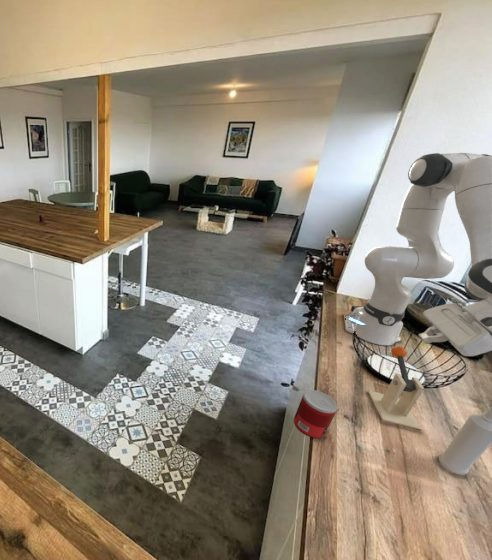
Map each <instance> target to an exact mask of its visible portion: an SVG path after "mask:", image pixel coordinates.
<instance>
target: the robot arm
mask: <svg viewBox="0 0 492 560" xmlns="http://www.w3.org/2000/svg"><path fill="white" fill-rule="evenodd" d="M407 178H408V181H409V182H410V187H409V188H408V190H407V192H406V194H405V196H404V199H403V202H402V204H401V207H400V211H399V215H398V219H397V223H396V226H395V229H396V232H397V234H399V235H400V236H402V237H403V238H405V239H406V240H407V242H408V247H405V246H404V247H402V246H391V245H389V246H378V247H377V246H376V247H373V248H371V249H370V250H368V252H367V253H366V255H365V257H364V266H365V268H366V269H367V270H368V271H369V272H370V273H371V275H372V276H373V279H374V288H373V291H372V293H371V296H370V298H367V300H366V302H365V304H364V305H363V306H362V305H352V306H351V308H350V312H349V313H348V314H349V316H346V317H345V314H344V315H343V320H344V328H345V331H346V332H348V333H349V334H353V333H354V331H356V332H357V336H356V337H357V338H360V339H362V340H363V341H365V342H368V343H371V344H375V345H379V346H393V345H394V344H395V343H398V342H401V341H402V338H401V336H400V334H401V331H402V328H403V326H404V323H403V321H402V320H403V318H405V314H406V310H407V309H406V308H407V307H408V305H409V303H410V301H411V299H412V296H413V295H412V291H411V290H410V288H409V287H407V286H406V285H405V284H403V283H402V282H403V279H404V278H413V279H420V280H421V279H422V280H430V279H431V280H432V279H433V280H434V279H442V278H443V279H444V278H445V277H447V276H448V275H450V274H451V273H452V271H453V269H454V266H455V261H454V258H453V257H452V255H451V254H449V253H448V252H447V251H446V250H445V249H444V247H443V245H442V243H441V240H440V235H439V234H440V226H441V221H442V218H443V214H444V210H445V207H446V202H447V200H448V197H449V196H450V195H451V194H452V193H453V192H454V201H455V206H456V210H457V213H458V216H459V218H460V220H461V223H462V225H463V228H464V231H465V232H466V235H467V238H468V242H469V247H470V248H469V250H470V260H471V261H470V263H471V267H470V268H469V270H468V273H467V276H466V280H465V282H464V285H463V286H464V292H465V293H466V295H468V297H470V298H471V299H473V300H474V301H476V302H473V303H471V304H468V305H465V304H464V303H458V302H457V303H455V302H452V303H445V304H441V305H437V306H433V307H430V308H428V309H425V310H424V311H423V312H422V315H423V317H424V318H425V319H426V321H427V322H428V323H429V324H430V325H431V326H430V327H428V328H427V329H425V331H424V332H421V333H418V337H419V339H421V341H423V343H424V344H425V345H427V344H431V343H444V342H447V341H448V343H450V344H451V346H453V347H454V348H455V350H457V352H459V353H460V354H461V355H462V356H463V357H475V356H478V355H482V354H486V353H489V352H492V155H491V154H486V153H481V154H479V153H472V152H471V153H469V152H458V153H457V152H452V153H450V152H449V153H438V152H435V153H428V154H424V155H421V156H420V157H418V158H416V160H414V161H413V163H412V164H411V165H410V167H409V169H408V172H407ZM345 318H346V320H345ZM353 335H354V334H353Z"/></svg>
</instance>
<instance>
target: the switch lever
mask: <svg viewBox="0 0 492 560" xmlns="http://www.w3.org/2000/svg"><path fill="white" fill-rule="evenodd" d="M390 353H391V355H392V356H393V357H394V358H396V359H397V362H398V367H399V372H400V375H401V377H402V378H403V380H404V381H405V383H406V384H407V385H406V386H405V388H404V390H403V391H402V392H404V391H407V392H412V391H413V390H415V386H414V383H413V380H411V379H409V374H408V371H407V367H406V362H405V357H406V356H407V355H408V352H407V350H406V349H405V347H403V346H393V347H392V348H391V349H390Z"/></svg>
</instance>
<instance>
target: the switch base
mask: <svg viewBox="0 0 492 560" xmlns="http://www.w3.org/2000/svg"><path fill="white" fill-rule="evenodd" d="M410 380H413V383H414V386H415V390H413V391H412V392H407V391H403V390H404V388H405V386H406V385H407V384H406V383H405V381H404V380H403V378H402V376H401V373H400V374H399V373H395V374H394V376H393V377H392V379H391V381H390V383H389V385H388V387H387V389H386V390H385V391H384V393H381V392H376V391H374V390H373V391H372V390H368V391H367V392H368V394H369V397H370V399H371V401H372V402H373V403H372V404H373V405H374V407H375V408H376V411H377V413H378V414H379V416H380V419H381V420H382V421H383V422H388V423H390V424H394V425H395V424H396V425H399V426H403V427H407V428H411V429H415V430H419V431H421V430H422V427H421V426H420V424H419V422H418V421H417V419H416V417H415V416H414V414H413V412H412V411H411V410H412V408H414V406H415V404H416V403H417V401H418V399H419V397H421V394H422V393H423V391H424V390H425V386H423V384H422V383H421V382H420V380H419V379H418V377H414V376H412V378H411V379H410Z"/></svg>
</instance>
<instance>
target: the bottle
mask: <svg viewBox="0 0 492 560" xmlns="http://www.w3.org/2000/svg"><path fill="white" fill-rule="evenodd" d="M491 445H492V405H490V406H489V408H488V409H487V410H486V412H485V413H481V414H478V413H472V414H470V415H469V417H468V418H467V419H466V421H465V422H464V424H463V425H462V427H461V428H460V429H459V430H458V432H457V433H456V435H455V436H454V438H453V439H452V441H451V442H450V444H449V445H448V446H447V448H446V449H445V450H444V452H443V453H441V454H440V455H439V456H438V461H439V463H440V464H441V465H442V466H443V467H444V468H445V469H446V470H448V471H450V472H452V473H454V474H457V475H459V476H466V475H467V474H468V473H469V471H470V468H471V467H472V466H473V465H474V464H475V462H477V460H478V459H479V458H480V457H481V456H482V455H483V454H484V453H485V452H486V450H488V448H490V446H491Z"/></svg>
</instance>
